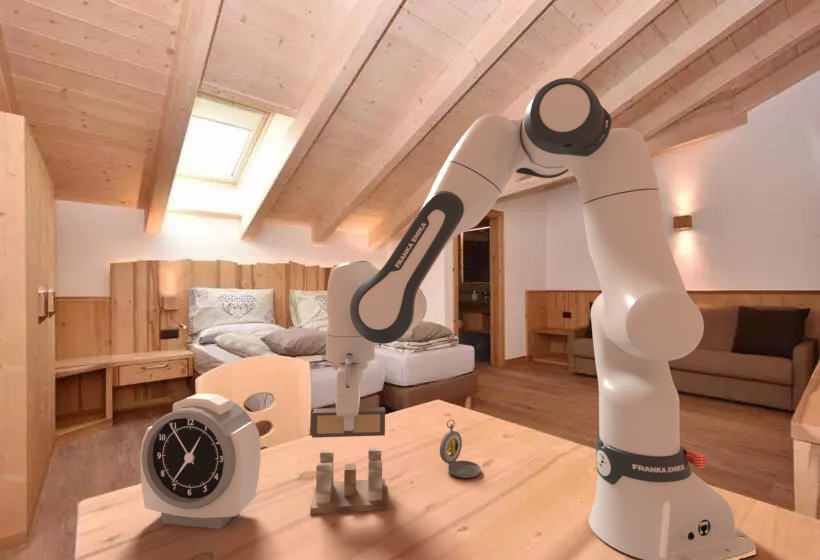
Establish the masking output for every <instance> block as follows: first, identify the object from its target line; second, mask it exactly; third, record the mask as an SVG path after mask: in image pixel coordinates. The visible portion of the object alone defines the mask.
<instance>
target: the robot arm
mask: <svg viewBox="0 0 820 560" xmlns="http://www.w3.org/2000/svg"><path fill="white" fill-rule="evenodd" d="M612 120H613V119H612V116H611V115H610V113H609V112H608V111H607V109H605V108H604V107H603V106H602V104H601V102H600V100H599V98H598V96H597V94H596V93H595V92H594V90H593V89H592V88H591V87H590V86H589V85H588V84H587V83H585V82H583V81H581V80H579V79H576V78H571V77H562V78H557V79H555V80H552V81H550V82H548V83H547V84H545V85H544V86H542V87H541V88H540V89H538V91H536V92H535V94H534V95H533V96H532V97H531V99H530V101H529V103H528V104H527V107H526V108H525V112H524V117H523V118H520V119H516V120H513V119H509V118H507V117H506V116H504V115H500V114H497V113H495V114H494V113H489V114H485V115H481V116H480V117H478V118H477V119H475V121H474V122H473V123H472V124H471V125H470V126H469V128H468V129H467V130H466V131H465V133H464V134H463V135H462V136H461V137H460V139H459V141H458V142H456V145H455V146H454V147H453V149H452V151H450V154H449V155H448V156H447V159H446V161H445V162H444V164H443V165H442V167H441V168H440V171H439V172H438V175H437V177H436V178H435V180H434V182H433V184H432V187H431V189H430V190H429V193H428V194H427V197H426V199H425V200H424V203H423V204H422V206H421V208H420V210H419V212H418V214H417V215H416V216H415V218H414V220H413V221H412V223H411V224H410V226H409V227H408V229H407V231H406V232H405V233H404V235H403V236H402V237H401V240H400V241H399V243H398V244H397V246H396V247H395V248H394V250H393V252H392V254H391V255H390V256H389V258H388V259H387V261H386V263H385V264H384V265H383V267H382V268H381V269H379V268H377V266H375V265H374V264H373V263H372V262H371V261H367V260H357V261H356V260H355V261H354V260H353V261H347V262H343V263H339V264H338V265H335V266H334V267H333V268H332V269H331V271H330V273H329V276H328V282H327V283H328V284H327V292H326V314H327V317H328V322H327V323H328V324H327V327H326V332H325V334H326V335H325V360H326V361H327V362H330V363H332V370H334V371H337V372H336V385H335V386H336V387H335V391H336V393H335V408H336V414H337V416H340V417H343V418H344V430H345V431H352V430H354V418H355V416H357V415H358V413H359V408H360V401H361V387H362V386H361V385H362V381H363V371H365V370H367V369H368V365H369V364H368V363H369V362H371V361H373V360H374V359H375V344H378V345H379V344H380V345H386V344H387V345H388V344H390V343H393V342H396V341H397V340H399V339H401V338H402V337H403V336H404V335H405V334H406V333H408V332H410V331H411V330H412V329H414V328H416V327H417V326H418V325H419V324H420V323H421V322H422V321H423V319H424V318H425V317H426V316H425V315H426V312H427V300H426V297H425V295H424V293H423V291H422V289H420V287H421V286H422V284H423V282H424V281H425V280H426V278H427V276H428V274H429V273H430V271H431V269H432V268H433V266H435V265H434V264H435V263H436V262H437V260H438V258H439V257H440V255H441V254H442V253H443V251H444V249H445V248H446V247H447V246H448V245H449V243H451V242H452V240H454V239H455V238H456V237H457V236H459V235H461V234H462V233H464V232H466V231H468V230H471V229H473V228H475V227H477V226H478V224H480V222H482V220H483V219H484V218H485V216H487V214H488V213H489V212H490V211H491V209H492V208H493V207H494V205H495V203H497V201H498V199H499V197H500V196H501V194H502V192H503V190H504V189H505V187H506V185H507V184H508V182H509V181H510V179H511V178H512V176H513V175H514V173H518V174H522V175H527V176H533V177H536V178H541V179H553V178H557V177H560V176H562V175H565V174H566V173H567V172H570V173H571V174H572V175H573V176H574V178H575V179H576V181H577V184H578V187H579V188H580V189H579V190H580V200H581V201H580V202H581V207H582V208H581V209H582V215H583V222H584V228H585V236H586V243H587V249H588V250H587V251H588V253H589V257H590V258H591V260H592V264H593V266H594V269H595V272H596V276H597V279H598V282H599V286H600V290H601V293H599V295H598V296H597V297H596V298H595V300H594V301H593V303H592V305H591V308H590V321H591V331H592V342H593V354H594V360H595V368H596V369H595V370H596V374H597V383H598V384H597V385H598V424H599V425H598V426H599V427H598V431H599V432H598V433H597V435H596V439H595V440H596V444H595V447H596V448H595V449H596V450H595V452H596V453H595V461H596V471H597V480H596V486H595V487H596V488H595V493H594V500H593V503H592V507H591V511H590V513H589V516H588V524H589V527H590V529H591V530H592V532H593V533H594V534H595V535H596V536H597V537H598V538H599V539H600V540H602V542H604V543H606V544H607V545H609V546H610V547H612V548H613V549H616V550H618V551H619V552H621V553H624V554H626V555H629V556H632V557H634V558H637V559H641V560H727V559H731V558H734V557H738V556H741V555H744V554H747V553H749V552H751V551H753V550H756V549H757V546H756V545H755V543H754V542H753V540H752V539H751V538H750V537H749V536H748V535H747V534H746V533H745V532H744V531H743V530H742V529H740V528H739V527H738V526H736V522H735V516H734V513H733V510H732V507H731V505H730V504H729V502H728V501H727V500H726V499H725V498H724V497H723V495H721V493H719V492H718V491H717V490H715V489H714V488H713V487H712V486H710V485H709V484H708V483H706V482H705V481H704V480H702V479H701V478H700V477H699V476H698V475H696V474H695V473H694V472H693V471H692V469H691V466H690V464H693V466H695V467H697V468H698V469H704V468H705V467H706V465H707V462H708V459H707V457H706V455H704V454H702V453H700V452H697V451H696V450H693V449H692V450H691V449H690V450H686V448H685V447H683V446H682V445H681V439H680V438H681V436H680V434H681V433H680V431H681V430H680V429H681V428H680V425H681V424H680V422H681V421H680V415H681V414H680V397H679V393H678V390H677V388H676V386H675V383H674V380H673V377H672V373H671V369H670V365H669V361H675V360H679V359H682V358H684V357H686V356H688V355H689V354H691V353H692V352H693V351H694V350H695V349H696V348H697V347H698V346H699V344H700V342H701V340H702V339H703V335H704V329H705V323H704V322H705V321H704V317H703V315H702V312H701V311H700V309H699V306H697V304H695V302H694V301H693V300H692V298H691V297H690V295H689V294H688V292H687V289H686V286H685V284H684V281H683V279H682V276H681V273H680V271H679V268H678V266H677V263H676V261H675V258H674V256H673V253H672V250H671V247H670V244H669V241H668V237H667V232H666V225H665V220H664V213H663V207H662V201H661V200H662V199H661V195H660V194H661V193H660V188H659V183H658V179H657V178H658V176H657V173H656V169H655V166H654V162H653V159H652V157H651V154H650V150H649V148H648V145H647V143H646V141H645V139H644V137H643V135H642V134H641V133H639V131H637V130H635V129H631V128H627V127H626V128H625V127H616V128H611V127H612V122H613V121H612ZM689 463H690V464H689ZM739 537H743V538H745V539H742V538H739Z"/></svg>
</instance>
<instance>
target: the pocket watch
mask: <svg viewBox="0 0 820 560" xmlns="http://www.w3.org/2000/svg"><path fill="white" fill-rule="evenodd" d="M450 421H452V422H453V423H451V424H450V426H449V422H450ZM455 425H456V422H455V420H454V419H449V420H447V422H446V427H447V428H449V430H450V431H447V432H446V433H445V434H444V436H443V438H441V442H440V446H439V455H440V458H441V460H442V461H443V462H444V463H446V464H448V467H447V468H448V469H447V470H448V472H449V473H450V474H451V475H452V476H455V477H458V478H463V479H469V478H475V477H478V476H479V474H480V473H481V467H480V465H479V464H478V463H476V462H473V461H469V460H458V458H459V457H460V454H461V453H462V452H461V451H462V446H463V440H462V436H461V434H460V432H459V431H457V430H453V429H454V428H455ZM449 453H450V454H449Z"/></svg>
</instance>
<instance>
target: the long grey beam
mask: <svg viewBox="0 0 820 560" xmlns="http://www.w3.org/2000/svg"><path fill="white" fill-rule="evenodd" d="M311 413H312V415H311V418H312V419H311V420H312V421H311V438H313V439H314V438H343V437H344V438H346V437H348V438H349V437H351V438H352V437H379V436H381V437H382V436H384V437H385V436H386V407H384V406H382V407H380V406H379V407H377V406H376V407H359V413H358V415H357V416H355V418H354V430H352V431H345V430H344V418H343V417H340V416H337V414H336V407H335V408H332V407H331V408H327V407H326V408H314V409H313V410H312V412H311Z"/></svg>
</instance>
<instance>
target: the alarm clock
mask: <svg viewBox="0 0 820 560" xmlns="http://www.w3.org/2000/svg"><path fill="white" fill-rule="evenodd" d="M261 449H262V448H261V439H260V433H259V430H258V427H257V424H256V422H255V420H252V418H251V417H250V415H249V414H248V412H247V410H245V409H244V408H243V407H242V406H241V405H240V404H239V403H236V402H235V401H233V400H231V399H229V398H226V397H224V396H222V395H220V394H216V393H215V394H214V393H196V394H192V395H191V396H188V397H186V398H185V397H184V398H183V399H181V400H178V401H175V402H174V403H173V404H172V411H171V412H169V413H167V414H164V415H163V416H162V417H160V418H159V419H158V420H156V421H155V422H154V423H153V425H150V426H148V427H147V428H146V430H145V433H144V435H143V437H142V440H141V448H140V455H139V456H140V457H139V458H140V460H139V461H140V465H139V466H140V480H141V489H142V496H143V504H144V508H145V509H147V510H151V511H153V512H158V513H161V515H160V516H161V518H160V520H161V521H160V523H161V524H163V525H175V526H185V527H195V528H207V529H217V530H221V529H223V527H225V526H226V524H228V522H230V521H231V520H232V519H233V518H234V517H237V516H238V515H239V514H240V513H241V512H242V511H243V510H244V509H246V507H247V506H248V505H249V504H250V503H251V502H252V501H253V500H255V498H256V495H257V489H258V484H259V478H260V467H261Z"/></svg>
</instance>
